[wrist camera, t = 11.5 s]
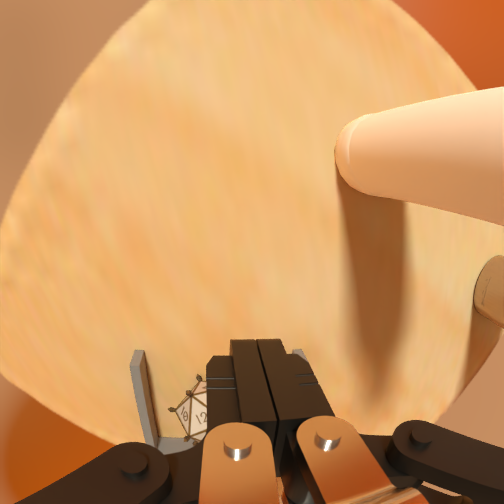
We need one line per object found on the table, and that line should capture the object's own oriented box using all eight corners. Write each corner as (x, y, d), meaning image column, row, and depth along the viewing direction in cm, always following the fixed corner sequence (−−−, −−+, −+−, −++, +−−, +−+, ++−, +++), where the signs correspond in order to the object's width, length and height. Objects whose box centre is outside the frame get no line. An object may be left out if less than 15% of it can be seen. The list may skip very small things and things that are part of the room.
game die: (224, 380, 37) (256, 450, 32) (159, 395, 33) (187, 472, 28) (242, 347, 32) (283, 434, 26) (161, 365, 28) (198, 463, 22)
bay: (301, 349, 33) (309, 364, 30) (286, 438, 37) (291, 454, 34) (134, 349, 31) (129, 365, 28) (151, 441, 34) (149, 457, 32)
